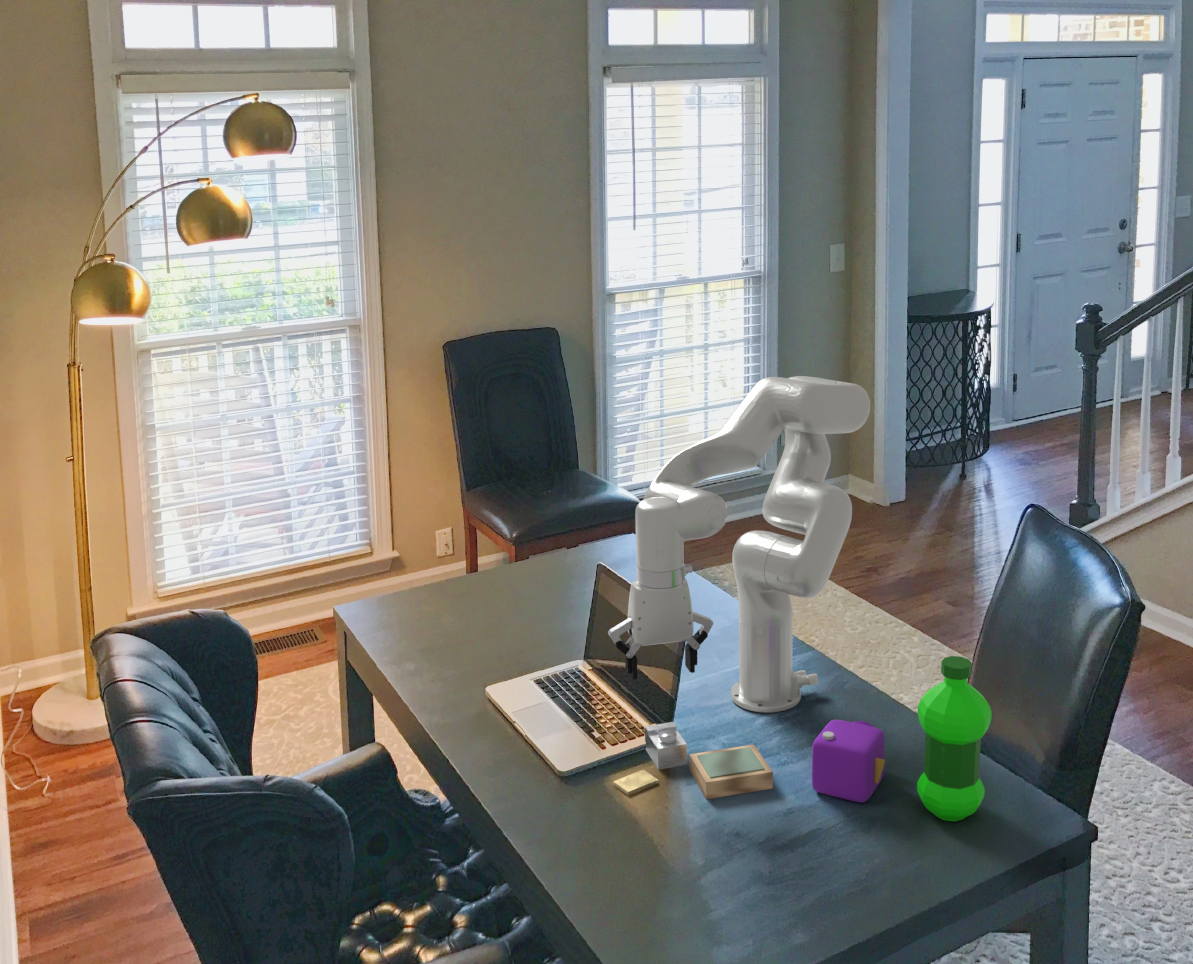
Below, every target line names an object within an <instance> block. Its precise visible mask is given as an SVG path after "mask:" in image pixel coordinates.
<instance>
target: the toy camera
mask: <svg viewBox="0 0 1193 964" xmlns="http://www.w3.org/2000/svg"><path fill="white" fill-rule="evenodd" d="M885 740H886V739H885V734H884V731H883V730H882V729H880V728H878V727H875V725H873V724H872V723H870V722H867V721H864V720H857V721H847V720H843V719H832V720H830V721H828V723H827V724H826V725H825V727H823V729H822V730H821V732H820V733H819V734H818V735H817V737H816V738H815V739H814V741H813V743H812V747H811V749H812V750H811V751H812V752H811V785H812V788H813V790H814V791H816V792H817V793H820V794H823V795H828V796H831V797H835V798H838V799H839V798H840V799H842V800H843V799H844V800H846V801H847V800H848V801H852V802H856V803H865V802H867V801H869V799H870V798H871V796H872V795H873V793H874V792H875V790H876V789H877V787H878V785H880V783H881V781H882V779H883V777H884V774H885V772H884V771H885V770H884V769H885V765H886V764H885V763H886V759H885V747H886V746H885Z"/></svg>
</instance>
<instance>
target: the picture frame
mask: <svg viewBox="0 0 1193 964" xmlns="http://www.w3.org/2000/svg"><path fill="white" fill-rule="evenodd" d="M689 772H690V773H691V775H692V777H693V779H694V780H695V782H696V783H697V786H698V787H699V789H700V791H701V792H702V794H703V796H704V798H705V799H706V800H710V799H711V800H712V799H716V798H723V797H728V796H735V795H742V794H746V793H754V792H760V791H767V790H770V789H771V790H773V789H774V787H773V783H774V782H773V780H774V779H773V778H774V774H773V773H774V772H773V770H772V768H771V767H770V766H769V764H768V763H767V761H766V760H765V759H764V757H763V756H762V754H761V753H760V752H759V750H758V748H757V747H756V746H755V745H754V744H747V745H741V746H740V745H739V746H736V747H735V746H734V747H729V748H728V747H727V748H723V749H722V748H721V749H717V750H709V751H708V750H707V751H704V752H703V751H702V752H696V753H690V754H689Z"/></svg>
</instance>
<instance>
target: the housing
mask: <svg viewBox="0 0 1193 964" xmlns="http://www.w3.org/2000/svg"><path fill="white" fill-rule="evenodd" d="M644 741H645V742H646V749H645V751H646V752H647V754H648V755H649V758H650V759H651V760H652V762H653V764H654V765H655V767H656V768H657V770H658V771H659V770H660V771H661V770H665V769H669V768H676V767H681V766H686V765H688V747H687V746H688V744H687V742H686V741H685V739H684V738H683V736H682V735H681V734H680V732H679V731H678V730H677V725H676V723H675V722H674V721H669V722H663V723H657V724H652V725H646V726H644ZM645 742H644V743H645Z"/></svg>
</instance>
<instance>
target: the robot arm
mask: <svg viewBox="0 0 1193 964" xmlns="http://www.w3.org/2000/svg"><path fill="white" fill-rule="evenodd" d="M870 413H871V399H870V397H869V394H868V392H867V390H866V389H865V388H864V387H863V386H861V385H859V384H858V383H851V382H846V381H841V380H834V379H833V380H832V379H827V378H822V377H816V376H805V375H794V376H791V377H781V376H768V377H764V378H762V379H760V380H758V382H756V383H755V384H754V386H753V387H752V388H751V389H750V391H749V392H748V393H747V394H746V396H745V397H744V398H743V400H742V401H741V402H740V404H739V405H738V406H737V407H736V409H735V410H734V411H733V413H732V414H731V415H730V416H729V418H728V419H727V420H726V421H725V423H724V424H723V426H722V427H721V428H720V429H719V431H717V432H716V433H715V434H714V435H711V436H709V437H707V438H704V439H702V440H700V441H698V442H696V443H695V444H692V445H690V446H689V447H687V448H685V449H683V450H682V451H680V452H678V453H677V454H675V455H674V456H672V458H671V459H669V460H668V461H667V462H666V463H665V464H664V465H663V467H662V468H661V470H660V471H659V472H658V473H657V475H656V476H655V477H654V478H653V480H652V481H651V483H650V485H649V486H648V488H647V489H646V492H645V494H644V497H643V500H641V501H639V503H638V504H637V505H636V507H635V515H634V517H635V520H634V521H635V554H636V555H635V557H636V559H635V560H636V561H635V563H636V564H635V565H636V566H635V569H636V571H635V572H636V579H635V580H633V581H632V582H631V585H630V589H629V596H628V608H627V618H626V619H625V620H623V621H621V622H619V623H618V624H616V625H615V626H613V627H611V628H609V630H608V631H607V633H608V636H609V638H610V639H611V641H612V642H613V644H614V645H615V647H616V648H617V650H618V651H620V652H621V653H623V654H624V657H625V658H624V659H625V660H624V661H625V667H624V668H625V673H626V674H627V675H629V676H630V677H631V680H632V681H636V680H637V679H638V657H637V655H636V654H637V652H638V651H639V649H640V648H641V647H644V646H645V647H646V646H652V645H655V646H656V645H661V644H663V645H664V644H671V643H672V644H673V643H678V642H684V641H685V643H686V644H685V645H684V660H685V661H684V662H685V663H684V665H685V667H686V668H687V670H688V671H689V673H691V674H693V673H695V672H696V671H695V670H696V669H695V667H696V666H697V665H698V650H700V648H701V645H702V644H703V642H704V641H705V640H706V639H707V638H708V637H709V633H710V631H711V630H712V628H713V626H714V621H713V620H712V619H711V618H710V617H708V616H705V615H703V614H700V613H697V612H695V611H693V605H692V597H691V592H690V587H689V583H688V580H687V578H686V576H687V575H688V574H692V573H693V566H692V564H685V561H684V555H685V554H684V552H685V551H684V543H685V542H686V541H692V540H699V539H700V540H701V539H705V538H709V537H712V536H714V535H715V534H717V533H718V532H720V531H721V530H722V529H723V527H724V526H725V525H726V522H727V520H728V514H729V513H728V512H729V511H728V506H727V504H726V501H725V500H724V499H723V498H722V497H721V496H720V495H718V494H716V493H714V492H711V491H709V490H705V489H701V488H696V487H694V486H696V485H697V484H699V483H700V482H702V481H705V480H707V479H710V478H714V477H718V476H721V475H728V474H734V473H739V472H743V471H747V470H750V469H753V468H755V467H756V466H758V465H759V464H760V462H761V461H762V459H763V458H764V457H765V456H766V454H767V453H768V451H769V450H770V449H771V448H772V446H773V445H774V444H775V442H776V441H777V440H778V438H779V437H780V436H781V434H782V433H783V431H784V436H785V437H784V438H785V439H784V440H785V441H784V442H785V443H784V448H783V451H782V455H781V458H780V460H779V462H778V465H777V467H776V470H775V472H774V475H773V477H772V478H771V479H772V480H771V482H770V484H769V486H768V489H767V492H766V494H765V495H764V500H763V503H762V509H761V511H762V512H761V513H762V516H763V518H764V520H765V521H766V522H768V523H769V524H770V525H772V526H774V527H777V528H779V529H782V530H785V531H789V532H793V533H797V534H799V535H800V534H801V535H804V539H803V540H801V539H797V538H793V537H790V536H787V535H784V534H780V533H776V532H772V531H767V530H750V531H747V532H745V533H744V534H742V535H741V536H739V538H738V539H737V540H736V542H735V544H734V546H733V549H732V554H731V555H732V557H731V558H732V560H731V561H732V567H733V574H734V577H735V583H736V587H737V588H736V589H737V597H738V599H737V600H738V646H739V647H738V650H739V651H738V654H739V655H738V660H739V661H738V662H739V663H738V664H739V665H738V667H739V672H738V673H739V674H738V675H739V681H737V682H736V683H735V684H733V685H732V687H731V689H730V697H731V700H732V702H733V703H734V704H736V705H737V706H738V707H740V708H742V709H744V710H747V711H750V712H756V713H766V714H767V713H779V712H783V711H787V710H790V709H792V708H793V707H795V706H797V705H798V704H799V703H800V701H801V699H802V691H801V689H802V688H803V686H812V685H813V686H814V685H818V684H819V677H818V674H817V673H810V674H807V672H806V671H807V670H805V669H803V670H797V671H793V634H794V633H793V629H794V628H793V626H794V625H793V620H794V619H793V617H794V614H793V613H794V611H793V609H794V608H793V603H792V599H791V596H792V597H798V598H802V599H810V598H811V599H812V598H814V597H816V596H818V595H819V594H820V593H821V592H822V591H823V589H824V588H825V586H826V584H827V583H828V581H829V578H830V576H831V574H832V571H833V568H834V566H835V564H836V561H837V559H838V557H839V555H840V553H841V549H842V546H843V545H844V542H845V539H846V537H847V534H848V532H849V529H850V526H851V522H852V518H853V517H852V516H853V504H852V501H851V498H850V496H849V494H848V493H847V492H846V491H845V490H844V489H842V488H840V487H839V486H836V485H834V484H833V485H832V484H830V483H824V482H825V479H826V476H827V473H828V471H829V469H830V466H831V461H832V453H831V448H830V445H829V442H828V439H827V436H826V435H833V434H834V435H835V434H836V435H837V434H851V433H854V432H856V431H858V430H859V429H861V427H863V426H864V425H865V423H867V420H868V418H869V415H870ZM768 523H767V524H768ZM694 623H696V624H699V625H700V628H699V629H698V630H697V631H696V632H695V633H694ZM626 632H628V633H627V634H628V635H629V636H630V637H629V638H628V639H627V640H626V642H625V641H623V640H622V639H621V637H620V636H621V635H623V634H624V633H626Z"/></svg>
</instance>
